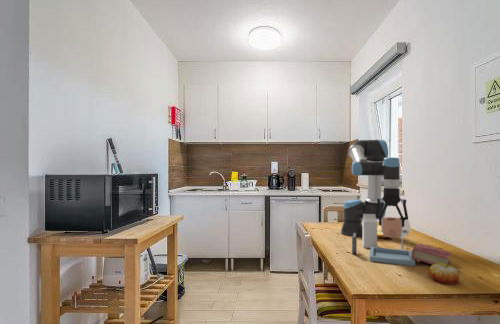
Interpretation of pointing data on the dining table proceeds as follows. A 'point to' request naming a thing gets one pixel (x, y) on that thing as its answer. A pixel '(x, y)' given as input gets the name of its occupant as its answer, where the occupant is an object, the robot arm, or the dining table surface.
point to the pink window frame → (391, 227)
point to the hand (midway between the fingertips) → (391, 232)
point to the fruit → (444, 273)
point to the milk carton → (369, 230)
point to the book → (430, 254)
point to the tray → (391, 256)
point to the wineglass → (404, 231)
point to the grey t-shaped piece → (354, 243)
